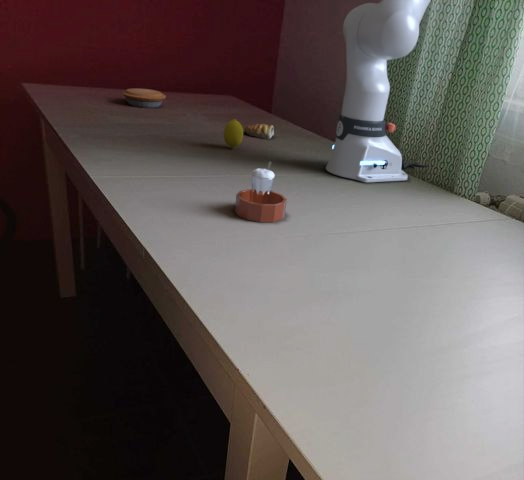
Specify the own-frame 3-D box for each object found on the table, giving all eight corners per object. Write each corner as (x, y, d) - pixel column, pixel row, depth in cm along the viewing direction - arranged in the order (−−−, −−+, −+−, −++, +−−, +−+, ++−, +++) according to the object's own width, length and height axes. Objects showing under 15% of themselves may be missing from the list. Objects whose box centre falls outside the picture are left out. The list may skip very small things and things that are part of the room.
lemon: (239, 152, 153) (242, 122, 149) (220, 149, 154) (222, 119, 150) (243, 148, 158) (246, 119, 154) (225, 145, 158) (227, 116, 154)
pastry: (242, 135, 172) (243, 122, 170) (246, 131, 178) (247, 119, 176) (270, 139, 171) (272, 127, 169) (274, 136, 177) (275, 123, 175)
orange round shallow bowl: (275, 205, 117) (277, 189, 115) (290, 222, 109) (292, 205, 107) (230, 205, 114) (231, 188, 112) (243, 222, 106) (244, 205, 104)
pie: (116, 105, 192) (115, 89, 190) (131, 99, 205) (131, 84, 203) (157, 111, 191) (157, 95, 188) (170, 104, 204) (171, 90, 201)
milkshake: (275, 212, 113) (281, 164, 107) (264, 219, 108) (270, 169, 103) (255, 207, 114) (260, 159, 108) (244, 214, 110) (248, 164, 104)
